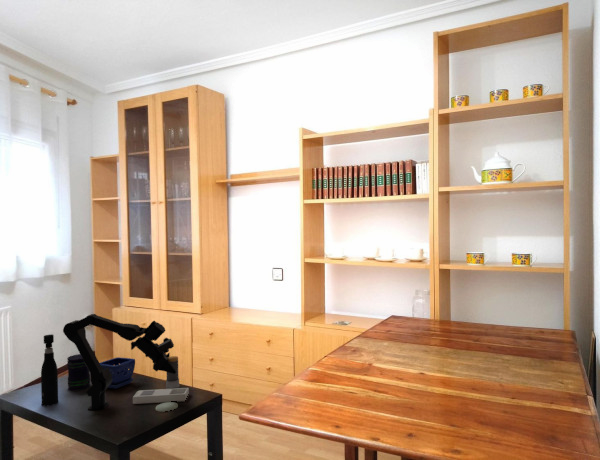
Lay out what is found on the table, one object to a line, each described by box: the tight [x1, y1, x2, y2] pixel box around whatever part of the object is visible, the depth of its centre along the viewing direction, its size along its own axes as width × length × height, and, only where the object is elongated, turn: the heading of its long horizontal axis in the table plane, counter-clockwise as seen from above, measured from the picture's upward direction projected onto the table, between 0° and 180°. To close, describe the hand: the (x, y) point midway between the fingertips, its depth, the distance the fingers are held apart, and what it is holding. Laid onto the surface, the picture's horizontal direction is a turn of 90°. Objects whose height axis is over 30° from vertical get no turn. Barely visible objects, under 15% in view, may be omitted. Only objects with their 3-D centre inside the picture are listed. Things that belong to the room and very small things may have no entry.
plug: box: [165, 355, 180, 389], centre depth 189 cm, size 6×6×12 cm
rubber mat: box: [155, 402, 179, 413], centre depth 183 cm, size 9×9×1 cm
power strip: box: [132, 387, 190, 405], centre depth 193 cm, size 8×22×3 cm, turn 94°
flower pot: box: [99, 357, 136, 390], centre depth 214 cm, size 13×13×12 cm
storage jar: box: [67, 353, 91, 392], centre depth 213 cm, size 10×10×15 cm
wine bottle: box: [40, 334, 59, 407], centre depth 192 cm, size 6×6×30 cm
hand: (175, 371), depth 190 cm, fingers closed on plug, 5 cm apart
